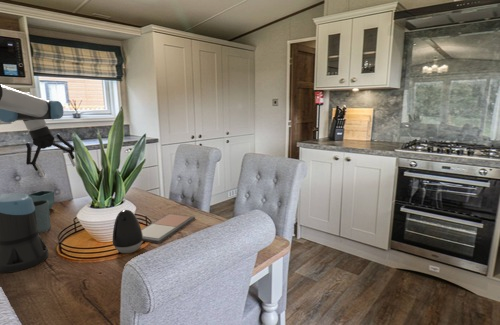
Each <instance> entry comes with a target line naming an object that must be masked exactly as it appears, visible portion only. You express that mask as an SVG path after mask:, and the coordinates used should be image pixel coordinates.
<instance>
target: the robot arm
mask: <svg viewBox="0 0 500 325" xmlns="http://www.w3.org/2000/svg"><path fill="white" fill-rule="evenodd" d="M63 116H64V106H63V105H62V103H61V102H60V101H59V100H53V99H52V100H51V99H50V100H46V99H43V98H40V97H37V96H34V95H33V94H32V93H31V92H29V91H28V92H23V91H20V90H17V89H15V88H12V87H9V86H6V85H3V84H2V83H0V121H1V122H3V123H6V124H7V123H14V122H16V121H22V122H23V123H24V126H25V128H26V129H27V131H28V133H29V135H30V137H31V139H32V141H31V142H29V141H28V142H26V144H25V147H26V148H27V149H26V163H25V164H26V165H27V166H28V165H32V167H33V168H34V170H35V171H36V172H38V173H39V175H40V177H42V178H43V177H44V176H45V173H44V171H43V169H42V167H41V165H40V164H39V162H37V160H38V158H39V155H40V152H41V149H46V148H51V147H52V146H53V147H56V148H58V149H60V150H61V151H64V152H66V153H67V157H68V159H69V161H70V163H71V165H72V167H76V163H75V161H74V159H75V155H74V153H73V152H74V151H75V150H74V147H75V146H74V145H72V144H71V143H70V142H69V141H67V140H66V139H65V138H63V136H62V134H60V133H56V134H55V135H53V134H52V131H51V130H50V128H49V126H48V125H47V122H46V120H52V121H53V120H59V119H62V118H63ZM55 139H56V140H59V141H60V142H61V143H63V144H64V145H63V144H59V143H58V142H57V141H54V140H55ZM34 145H35V146H36V149H35V150H36V151H35V152H34V156H33V157H32V149H33V146H34ZM48 257H49V250H48V247H47V245H46V244H45V242H44V241H43V239H42V237H41V236H40V233H39V232H38V226H37V220H36V214H35V206H34V203H33V200H32V198H31V197H30V196H29V194H25V193H21V192H9V193H0V273H4V274H5V273H14V272H19V271H23V270H27V269H29V268H32V267H34V266H37V265H39V264H40V263H42V262H44V261H45V260H46V259H47V258H48Z"/></svg>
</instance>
